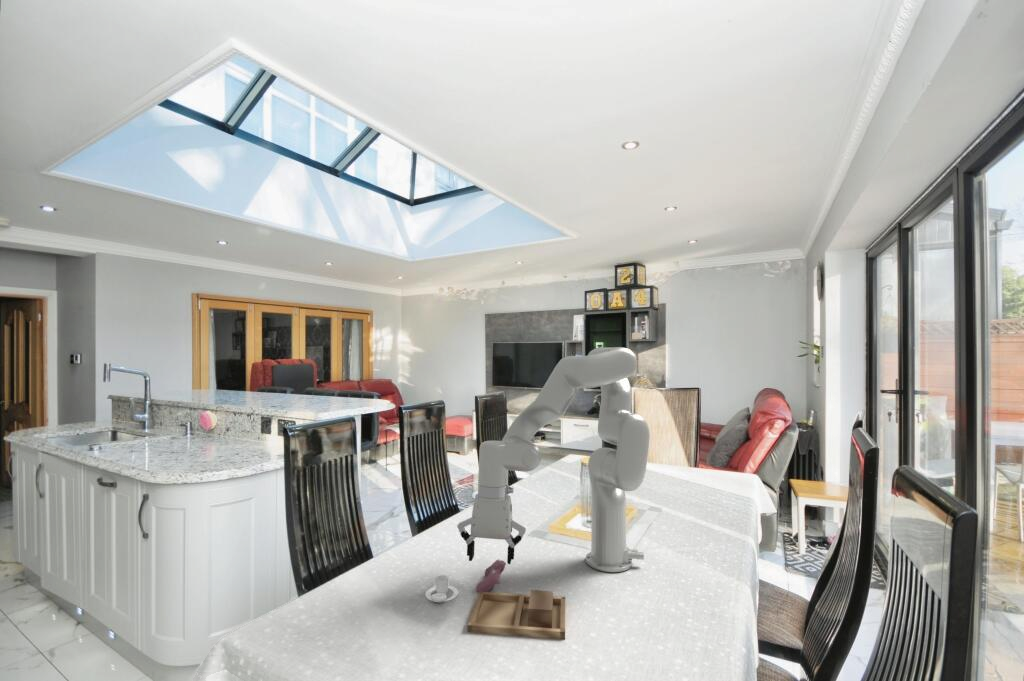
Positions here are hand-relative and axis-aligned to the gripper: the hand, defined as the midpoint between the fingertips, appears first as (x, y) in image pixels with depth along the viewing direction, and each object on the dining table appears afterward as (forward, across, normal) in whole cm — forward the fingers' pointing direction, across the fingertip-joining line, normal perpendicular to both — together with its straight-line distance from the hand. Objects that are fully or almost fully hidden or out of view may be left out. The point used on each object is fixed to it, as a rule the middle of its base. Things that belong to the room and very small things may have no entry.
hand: (490, 560), depth 117 cm
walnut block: (+6, -14, +14) cm, 20 cm away
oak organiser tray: (+6, -9, +14) cm, 17 cm away
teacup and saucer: (+7, +13, +7) cm, 17 cm away
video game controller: (+6, 0, 0) cm, 7 cm away
